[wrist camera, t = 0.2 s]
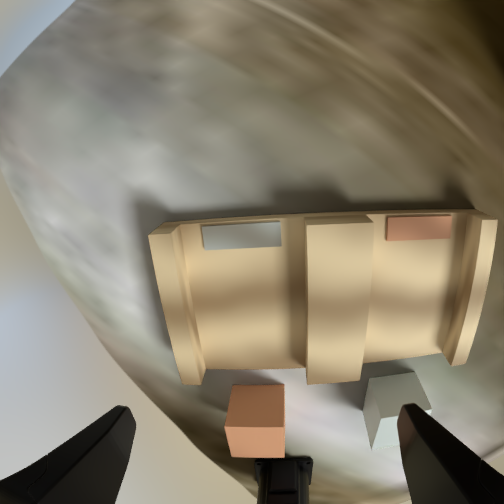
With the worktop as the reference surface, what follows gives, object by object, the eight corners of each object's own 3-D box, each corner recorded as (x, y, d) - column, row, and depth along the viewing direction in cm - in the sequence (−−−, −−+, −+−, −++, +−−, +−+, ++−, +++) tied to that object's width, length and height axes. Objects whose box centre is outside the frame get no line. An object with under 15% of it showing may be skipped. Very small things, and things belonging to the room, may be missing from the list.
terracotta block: (285, 416, 28) (284, 457, 23) (238, 416, 28) (231, 456, 23) (284, 384, 26) (283, 427, 21) (232, 384, 27) (224, 426, 22)
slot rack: (452, 343, 24) (465, 363, 21) (191, 361, 26) (182, 384, 23) (475, 209, 20) (497, 219, 17) (163, 222, 22) (148, 235, 19)
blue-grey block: (405, 404, 26) (418, 441, 22) (362, 410, 27) (371, 450, 22) (414, 371, 25) (432, 409, 20) (368, 377, 25) (380, 418, 21)
